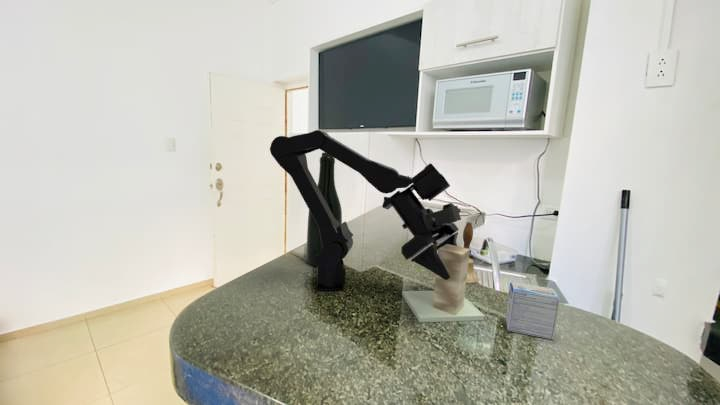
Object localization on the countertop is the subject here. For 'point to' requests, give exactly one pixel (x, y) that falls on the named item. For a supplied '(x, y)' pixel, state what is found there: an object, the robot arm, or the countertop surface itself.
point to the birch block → (452, 279)
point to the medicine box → (532, 310)
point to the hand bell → (470, 273)
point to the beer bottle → (332, 200)
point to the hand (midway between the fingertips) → (455, 272)
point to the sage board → (426, 313)
